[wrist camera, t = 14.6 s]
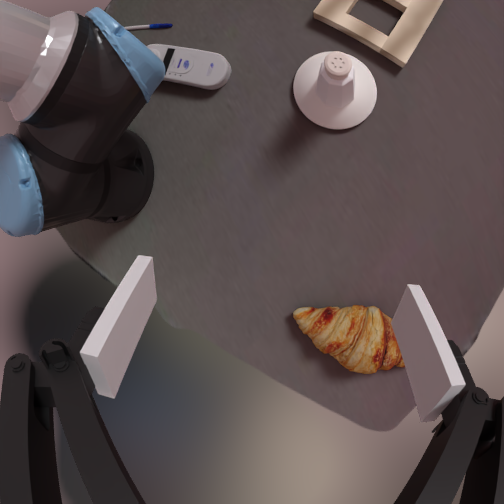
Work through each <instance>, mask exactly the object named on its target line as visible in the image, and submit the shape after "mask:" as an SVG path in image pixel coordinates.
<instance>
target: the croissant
mask: <svg viewBox="0 0 504 504" xmlns="http://www.w3.org/2000/svg"><path fill="white" fill-rule="evenodd" d="M293 317H294V319H295V320H296V322H297V324H298V325H299V328H300V329H301V330H302V332H303V334H307V335H308V336H309V337H310V338H311V339H312V342H313V343H314V345H315V347H316V348H318V349H319V350H320V351H321V352H323V354H324V353H329V354H330V355H331V356H333V357H334V358H335V359H337V360H338V362H339V363H340V364H341V365H342V366H343V367H345V368H346V369H349V371H354V372H358V373H363V374H371V373H376V371H377V370H390V369H391V368H392V367H393V366H395V365H396V366H398V367H405V364H404V361H403V358H402V355H401V352H400V349H399V346H398V343H397V340H396V337H395V334H394V331H393V328H392V325H391V321H392V318H390V317H388V316H387V315H385V314H384V313H382V312H381V310H380V309H379V308H377V307H374V306H371V307H365V306H362V305H361V306H359V305H353V307H346V308H345V307H344V308H341V309H340V308H339V307H330V306H329V307H326V308H320V309H317V308H314V307H302V308H298V309H296V310H295V311H294V312H293Z"/></svg>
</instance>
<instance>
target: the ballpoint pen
mask: <svg viewBox="0 0 504 504" xmlns="http://www.w3.org/2000/svg"><path fill="white" fill-rule="evenodd" d="M168 27H172V24H151V25H141V26H130V27H124V28H125V29H126V30H134V29H147V28H168Z"/></svg>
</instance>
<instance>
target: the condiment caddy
mask: <svg viewBox="0 0 504 504" xmlns="http://www.w3.org/2000/svg"><path fill="white" fill-rule="evenodd" d="M357 1H358V0H321V2H320V3H319V5H318V6H317V7H316V9H315V10H314V11H313V15H314V18H315V19H317V20H319V21H321V22H323V23H325V24H327V25H329V26H331V27H333V28H335V29H337V30H339V31H341V32H343V33H345V34H347V35H349V36H351V37H352V38H354V39H356V40H358V41H360V42H361V43H363V44H365V45H367V46H368V47H370V48H372V49H373V50H375V51H377V52H378V53H380V54H382V55H383V56H385V57H386V58H388V59H390V60H391V61H393V62H394V63H396V64H397V65H399V66H400V67H402V68H403V67H404V66H405V64H406V63H407V61H408V59H409V58H410V56H411V54H412V53H413V51H414V49H415V48H416V46H417V44H418V43H419V41H420V39H421V38H422V36H423V34H424V33H425V31H426V29H427V27H428V26H429V24H430V22H431V21H432V19H433V17H434V15H435V14H436V12H437V10H438V9H439V7H440V5H441V3H442V2H443V0H382V1H384V2H386V3H388V4H390V5H391V6H393V7H395V8H397V9H398V10H400V11H402V12H403V15H402V16H401V18H400V20H399V21H398V23H397V24H396V26H395V27H394V29H393V31H392V32H391V34H390V35H389V37H388V36H386V35H385V34H383V33H381V32H380V31H378V30H376V29H374V28H373V27H371V26H369V25H367V24H366V23H364V22H362V21H360V20H358V19H356V18H354V17H352V16H351V15H349V13H350V11H351V10H352V8H353V7H354V6H355V4H356V3H357Z"/></svg>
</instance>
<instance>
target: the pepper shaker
mask: <svg viewBox="0 0 504 504" xmlns="http://www.w3.org/2000/svg"><path fill="white" fill-rule="evenodd" d="M354 93H355V72H354V67H353V66H352V61H351V59H350V58H349V57H348V55H346V54H345V53H342V52H338V51H336V52H331V53H329V54H328V55H327V56H326V57H325V59H324V61H323V62H322V64H321V67H320V71H319V74H318V78H317V85H316V94H317V96H318V97H319V98H320V99H321V100H322V102H323V103H324V104H325V105H326V106H333V107H338V108H342V107H344V106H345V105H347V104H348V103H350V102H351V101H352V100H354Z"/></svg>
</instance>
